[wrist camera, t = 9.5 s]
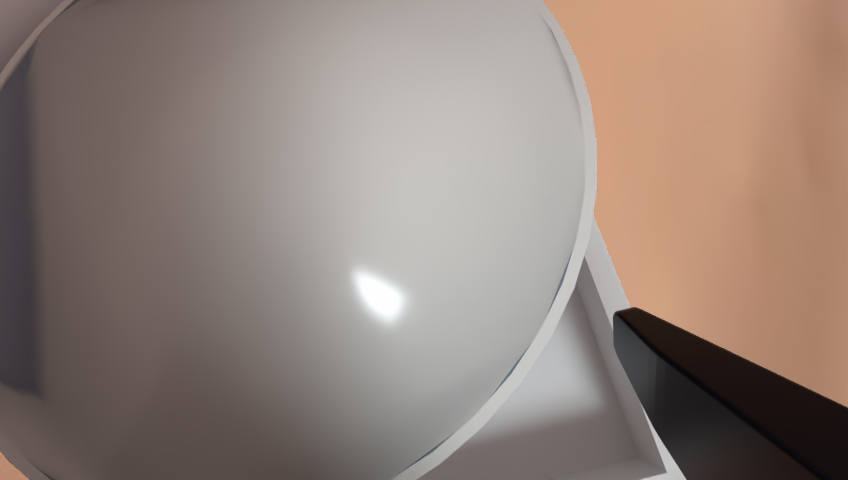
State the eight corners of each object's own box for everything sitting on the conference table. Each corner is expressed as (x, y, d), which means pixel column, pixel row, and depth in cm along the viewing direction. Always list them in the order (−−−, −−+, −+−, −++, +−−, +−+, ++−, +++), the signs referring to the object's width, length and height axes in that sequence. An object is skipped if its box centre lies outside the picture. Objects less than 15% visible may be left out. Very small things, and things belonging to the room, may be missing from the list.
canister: (477, 419, 15) (482, 709, 3) (311, 361, 17) (-191, 381, 4) (523, 246, 17) (659, -69, 4) (367, 205, 18) (124, -128, 6)
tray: (660, 469, 15) (705, 496, 12) (288, 562, 15) (246, 609, 12) (521, 100, 20) (529, 55, 17) (239, 180, 20) (200, 151, 17)
